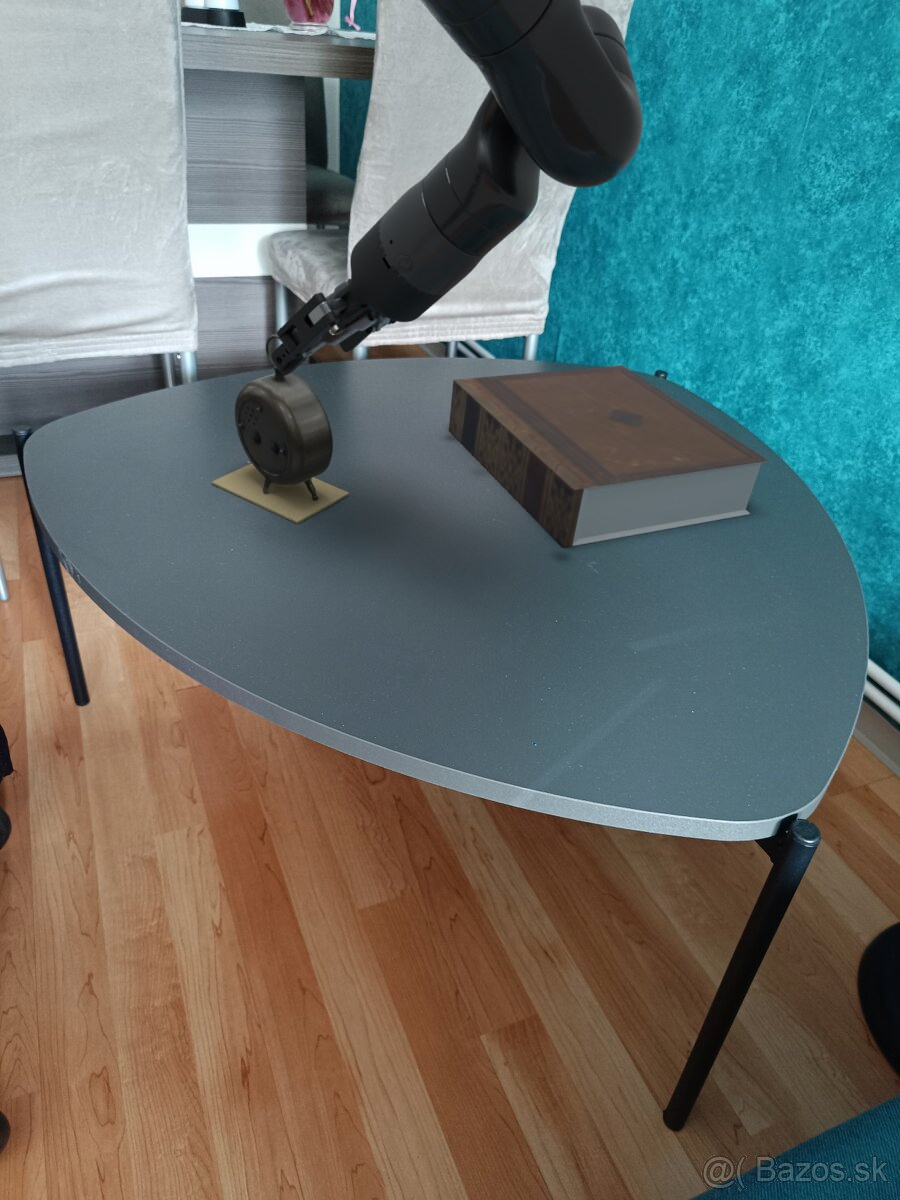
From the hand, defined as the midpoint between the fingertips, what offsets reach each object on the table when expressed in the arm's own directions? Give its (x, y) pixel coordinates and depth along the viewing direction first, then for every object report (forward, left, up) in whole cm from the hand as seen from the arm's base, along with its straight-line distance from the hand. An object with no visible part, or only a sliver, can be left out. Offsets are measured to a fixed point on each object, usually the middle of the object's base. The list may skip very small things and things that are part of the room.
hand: (311, 354), depth 77 cm
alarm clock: (0, +4, -16) cm, 16 cm away
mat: (0, +4, -16) cm, 16 cm away
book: (+28, -19, -16) cm, 37 cm away
